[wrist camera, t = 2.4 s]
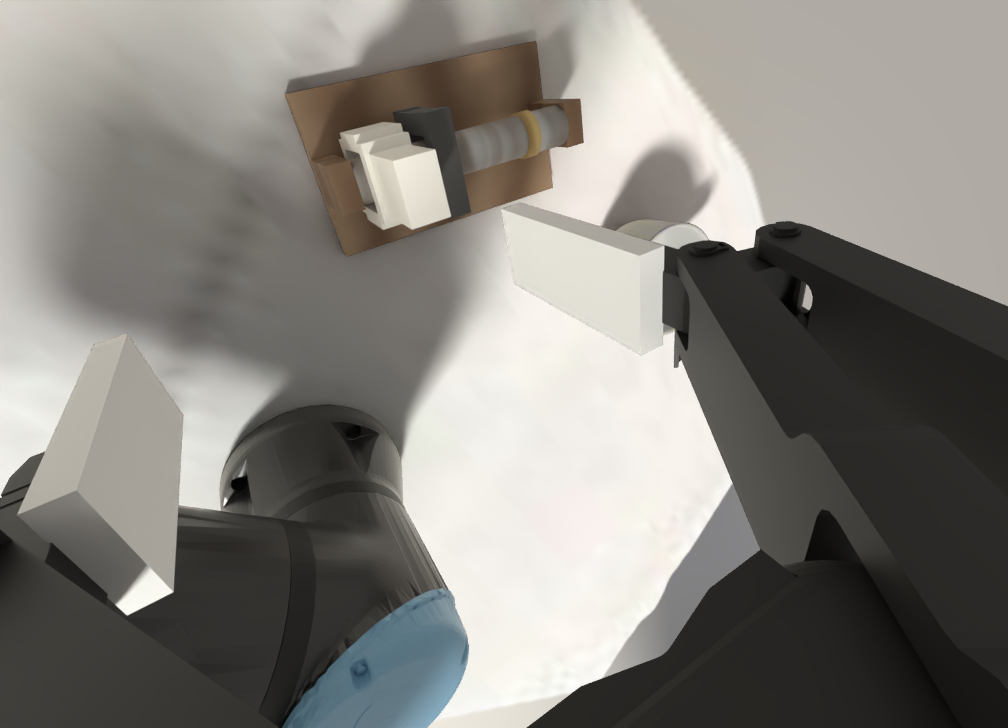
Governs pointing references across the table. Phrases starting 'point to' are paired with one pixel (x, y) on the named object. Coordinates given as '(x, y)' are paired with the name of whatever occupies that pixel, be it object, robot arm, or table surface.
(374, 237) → the pipe rig
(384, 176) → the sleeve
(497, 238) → the table surface
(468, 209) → the charcoal slab
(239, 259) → the table surface
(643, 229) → the teacup
